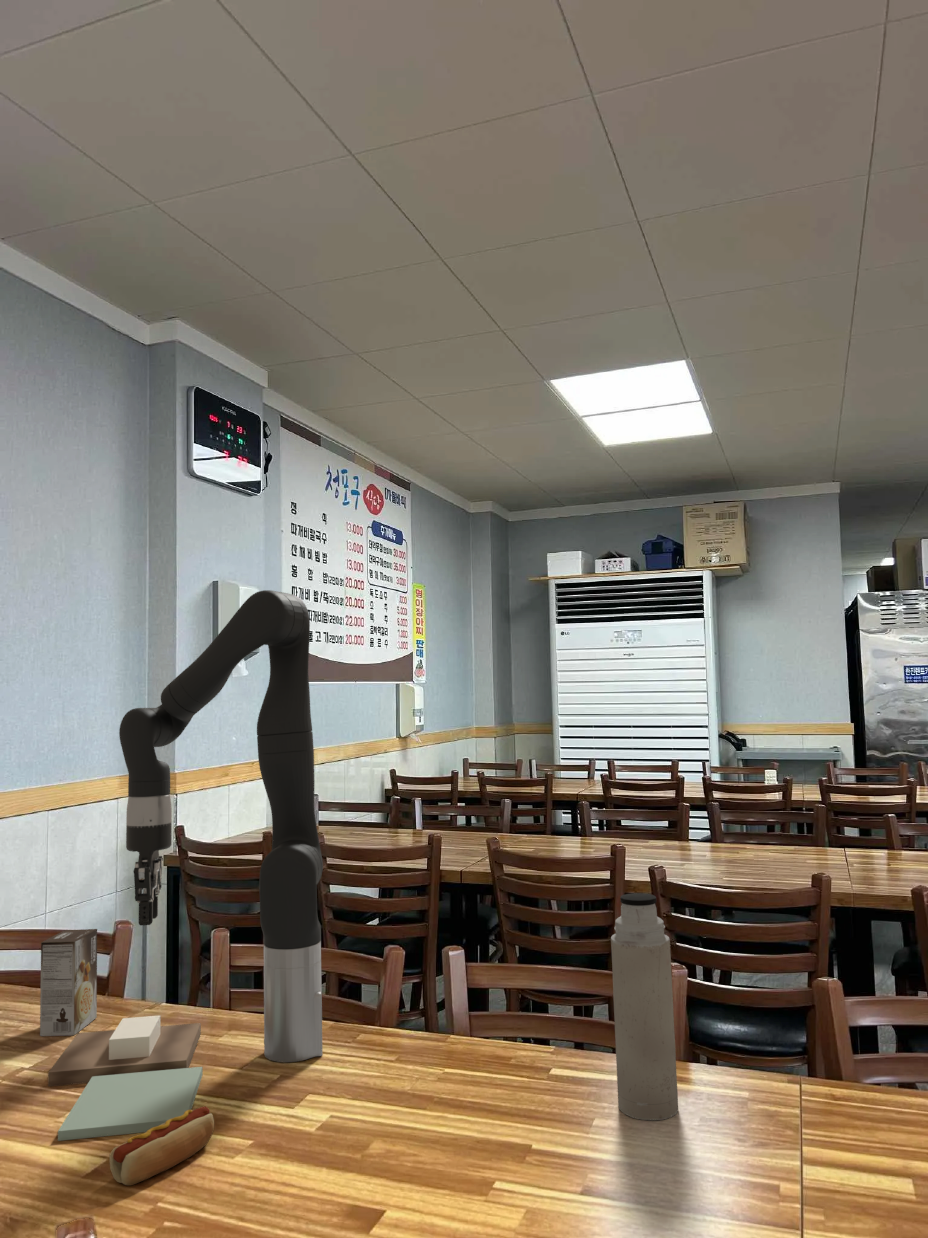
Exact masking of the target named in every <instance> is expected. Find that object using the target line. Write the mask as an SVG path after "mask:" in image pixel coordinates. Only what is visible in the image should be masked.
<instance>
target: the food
mask: <svg viewBox="0 0 928 1238" xmlns="http://www.w3.org/2000/svg"><path fill="white" fill-rule="evenodd" d="M214 1129H215V1118H214V1115H213V1113H212V1112H211V1111H210V1108H209V1107H207V1106H206V1105H205V1106H204V1105H203V1106H201V1107H197V1108H193V1109H191V1110H187V1111H185V1112H184V1114H183V1115H181V1116H178V1117H175V1118H172V1119H169V1120H167V1121H166V1122H165V1123H163V1124H161V1125H159V1126H156V1127H153V1128H151V1129H149V1130H147V1132H142V1133H139V1134H138V1135H133V1136H131V1137H129V1138H127V1141H126V1142H124V1143H122V1144H120V1145H118V1146H115V1147H113V1149H112V1150H111V1152H110V1153H109V1157H108V1158H109V1167H110V1168H109V1169H110V1171H111V1174H112V1177H113V1179H114V1180H115V1181H116V1182H117V1183H119V1184H123V1185H124V1186H133V1185H136V1184H139V1183H140V1182H143V1181H146V1180H148V1179H150V1178H152V1177H153V1176H155V1175H158V1174H160V1173H162V1172H165V1171H168V1170H169V1169H171V1168H173V1167H175V1166H176V1165H178V1164H180V1163H182V1162H183V1161H185V1160H187V1159H189V1158H190V1157H192V1156H194V1155H196V1153H197V1152H198V1151H200V1150H202V1148H204V1147H205V1146H206V1145H207V1144H208V1143H209V1141H210V1139H211V1137H212V1136H213V1133H214Z"/></svg>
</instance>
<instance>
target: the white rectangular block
mask: <svg viewBox="0 0 928 1238" xmlns="http://www.w3.org/2000/svg"><path fill="white" fill-rule="evenodd" d="M160 1026H161V1015H149V1016H136V1017H135V1016H134V1017H123V1018H122V1019H121V1021H120V1022H119V1024H118V1025H117V1026H116V1028H115V1029H114V1030H115V1031H114V1033H113V1034H112V1036H111V1038H110V1039H109V1060H114V1059H126V1058H137V1057H149V1056H150V1054H151V1052H152V1050H153V1048H154V1046H155V1044H156V1042H157V1040H158V1038H159V1036H160Z"/></svg>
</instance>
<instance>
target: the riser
mask: <svg viewBox="0 0 928 1238" xmlns="http://www.w3.org/2000/svg"><path fill="white" fill-rule="evenodd" d="M201 1026H202V1023H201V1022H199V1023H198V1022H196V1023H183V1024H171V1025H160V1036H159V1038H158V1040H157V1042H156V1044H155V1046H154V1048H153V1050H152V1052H151V1054H150V1056H149V1057H137V1058H126V1059H114V1060H109V1039H110V1038H111V1036H112V1034H113V1033H114V1031H115V1030H116V1029H110V1030H100V1031H98V1030H97V1031H84V1032H78V1033H77V1034H75V1035H74V1038H73V1039H72V1040H71V1042H70V1043H69V1044H68V1046H66V1049H64V1050H63V1052H62V1054H61V1055H60V1056H59V1057H58V1059H57V1060H55V1061H56V1062H55V1063H54V1064H53V1065H52V1067H51V1068H50V1070H49V1071H47V1072H48V1073H47V1087H56V1086H68V1085H77V1084H88V1082H89V1081H90V1079H91V1078H92V1077H93V1076H104V1075H115V1074H126V1073H137V1072H148V1071H159V1070H170V1069H182V1068H190V1065H191V1063H192V1060H193V1057H194V1055H193V1054H195V1051H196V1050H197V1049H196V1048H197V1046H198V1044H199V1041H200V1038H201V1036H200V1035H202V1032H201V1031H202V1029H201V1028H202V1027H201ZM198 1040H199V1041H198ZM197 1043H198V1044H197Z"/></svg>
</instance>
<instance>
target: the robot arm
mask: <svg viewBox="0 0 928 1238" xmlns="http://www.w3.org/2000/svg"><path fill="white" fill-rule="evenodd" d="M310 621H311V620H310V614H309V610H308V607H307V605H306V603H304V601H303V599H301V598H300V597H299V596H296V595H295V594H293V593H289V592H287V593H286V592H283V591H277V590H272V589H270V590H259V591H256V592H255V593H253V594H252V595H250V596H249V597H248V598H247V599H246V600H245V601H244V602H243V603H242V604H241V606H240V607H239V608H238V609H237V611H236V612H235V613H234V614H233V616H232V617H231V618H230V620H229V621H228V622H227V623H226V625H225V626H224V627H223V628H222V630H221V631H220V632H219V633H218V634H217V635H216V636H215V638H214V639H213V640H212V641H211V643H210V644H209V645H208V646H207V647H206V648H205V650H204V651H203V652H202V653H201V654H200V655H199V656H197V658H196V659H195V660H194V661H193V662H192V663H191V664H189V666H187V667H186V668H185V669H184V670H183V671H182V672H181V673H179V674H178V675H177V676H176V677H175V678H174V679H173V680H172V681H170V683H168V684H167V685H166V687H164V688H163V690H162V692H161V694H160V703H161V704H160V705H159V706H156V707H136V708H133V709H130V710H128V711H127V712H126V713H125V714H124V716H123V717H122V719H121V721H120V725H119V730H118V731H119V742H120V746H121V750H122V754H123V759H124V763H125V766H126V769H127V772H128V781H127V783H128V787H127V789H128V790H127V793H128V795H127V796H128V797H127V805H126V815H125V817H126V818H125V819H126V820H125V821H126V823H125V824H126V825H125V826H126V831H125V832H126V833H125V835H126V836H125V842H126V843H125V849H126V850H127V851H129V852H133V853H135V852H137V853H138V859H137V860H138V861H135V863H134V869H133V880H134V882H133V883H134V900H135V901H134V902H137V904H138V925H139V926H150V925H152V924H153V922H154V921H153V919H156V918H158V915H159V896H160V893H161V890H162V889H161V888H162V878H163V877H162V875H163V873H162V872H163V871H162V870H163V861H164V858H163V856H162V855H160V851H163V850H167V849H170V847H171V846H172V831H173V830H172V828H173V827H172V820H173V819H172V816H173V815H172V812H173V811H172V810H173V809H172V802H171V801H172V800H171V768H170V766H169V764H168V763H167V762H165V761H162V760H159V759H158V757H157V754H156V750H155V748H160V747H165V746H168V745H169V744H171V743H173V742H174V741H176V740H177V739H178V738H179V737H180V736H181V735H182V733H183V732H184V731H185V730H186V727H188V725H189V724H190V722H191V721H192V719H193V717H194V716H195V715H196V714H197V713H199V712H200V711H201V710H202V709H203V708H204V707H206V705H208V703H210V702H211V701H212V700H213V699H214V698H216V697H217V696H218V695H219V693H220V692H221V691H222V689H223V688H224V687H225V685H226V683H228V682H227V681H228V679H229V678H230V676H231V675H232V672H233V671H234V669H235V668H236V667H237V665H238V664H239V663H240V662H241V661H243V659H245V657H247V656H249V655H250V654H251V653H253V652H255V651H256V650H258V649H259V648H261V647H263V646H267V647H268V648H267V649H268V654H269V655H268V656H269V667H270V668H269V680H268V686H267V689H266V692H265V695H264V698H263V701H262V704H261V707H260V709H259V714H258V717H257V723H256V739H257V754H258V755H257V757H258V766H259V771H260V774H261V779H262V782H263V786H264V789H265V793H266V795H267V799H268V802H269V806H270V810H271V811H270V813H271V822H272V823H271V825H272V826H271V827H272V831H271V832H272V833H271V834H272V835H271V836H272V837H271V838H272V839H271V841H272V842H271V851H270V852H269V853H267V855H266V856H265V857H264V859H263V861H262V863H261V866H260V869H259V885H258V887H259V888H258V890H259V891H258V892H259V919H260V927H261V932H262V934H263V1016H264V1017H263V1022H264V1023H263V1024H264V1025H263V1027H264V1028H263V1034H264V1036H263V1045H264V1049H263V1050H264V1057H265V1058H266V1059H268V1060H270V1061H273V1062H278V1063H293V1062H300V1061H305V1060H308V1059H309V1060H310V1059H312V1058H314V1057H321V1056H323V1006H322V1005H323V1003H322V1002H323V1001H322V999H323V997H322V996H323V995H322V994H323V991H322V987H323V986H322V927H321V922H320V921H319V917H318V916H319V915H318V898H317V897H318V892H317V889H318V887H317V885H318V884H319V882H320V880H321V878H322V875H323V869H324V862H323V861H324V860H323V856H322V850H321V844H320V840H319V839H320V838H319V832H318V826H317V821H316V812H315V753H314V750H315V749H314V748H315V747H314V736H313V734H314V733H313V724H312V715H311V694H310V681H309V680H310V679H309V658H310V657H309V656H310V635H311V632H310V631H311V630H310V629H311V628H310V627H311V622H310Z"/></svg>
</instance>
